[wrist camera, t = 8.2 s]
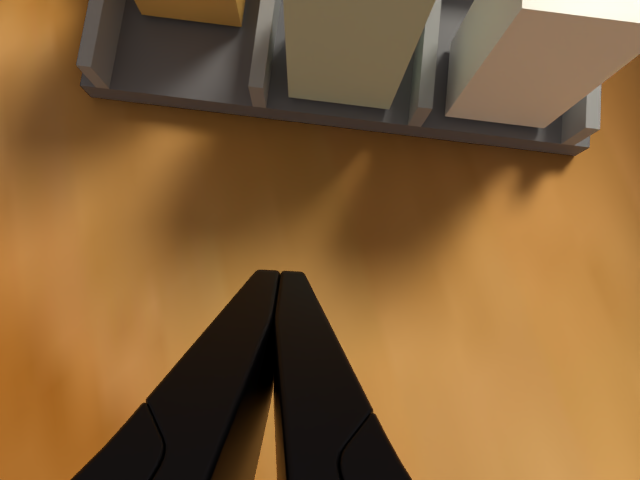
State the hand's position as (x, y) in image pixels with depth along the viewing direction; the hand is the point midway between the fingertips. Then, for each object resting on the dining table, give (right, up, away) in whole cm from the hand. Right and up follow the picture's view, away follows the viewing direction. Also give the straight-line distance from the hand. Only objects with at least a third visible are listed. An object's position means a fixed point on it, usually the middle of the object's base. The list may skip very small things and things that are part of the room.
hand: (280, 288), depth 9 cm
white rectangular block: (+9, +8, +14) cm, 18 cm away
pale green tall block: (+2, +9, +14) cm, 16 cm away
